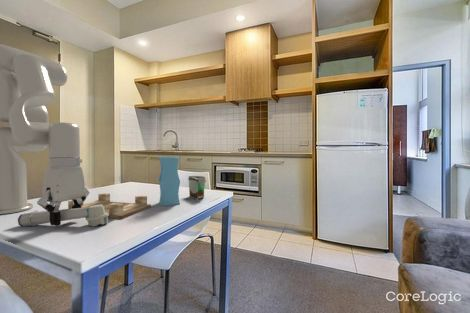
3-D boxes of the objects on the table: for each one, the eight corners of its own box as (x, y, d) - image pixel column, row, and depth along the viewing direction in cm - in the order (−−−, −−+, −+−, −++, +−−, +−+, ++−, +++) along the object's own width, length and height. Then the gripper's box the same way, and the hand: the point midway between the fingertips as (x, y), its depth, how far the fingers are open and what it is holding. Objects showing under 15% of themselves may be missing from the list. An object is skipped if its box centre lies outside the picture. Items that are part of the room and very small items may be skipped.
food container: (210, 198, 105) (210, 177, 105) (198, 200, 101) (198, 178, 101) (199, 194, 115) (199, 175, 115) (188, 195, 112) (188, 176, 111)
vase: (158, 201, 99) (158, 157, 98) (176, 200, 102) (176, 156, 101) (160, 206, 91) (160, 157, 91) (180, 204, 95) (179, 157, 94)
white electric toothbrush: (29, 210, 70) (109, 199, 72) (33, 231, 71) (113, 219, 72) (14, 215, 65) (100, 203, 66) (18, 237, 65) (104, 225, 67)
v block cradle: (63, 213, 80) (63, 201, 80) (100, 203, 96) (100, 192, 96) (121, 219, 74) (121, 205, 74) (151, 207, 90) (150, 196, 90)
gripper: (81, 161, 77) (82, 212, 78) (23, 165, 61) (25, 230, 61) (98, 162, 75) (99, 214, 76) (44, 165, 59) (46, 232, 59)
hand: (66, 220), depth 69 cm, fingers closed on white electric toothbrush, 6 cm apart
